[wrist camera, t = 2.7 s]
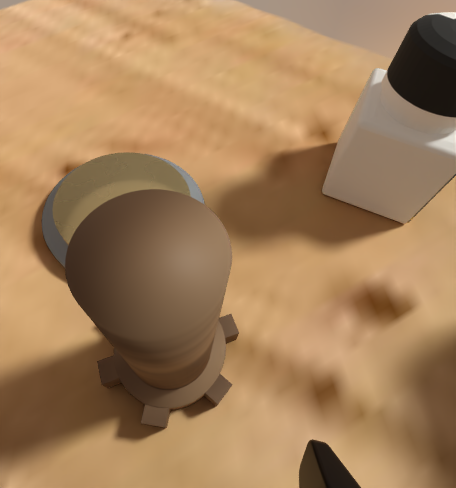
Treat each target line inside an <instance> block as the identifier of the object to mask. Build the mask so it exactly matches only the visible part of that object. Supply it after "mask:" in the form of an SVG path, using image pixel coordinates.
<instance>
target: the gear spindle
mask: <svg viewBox="0 0 456 488" xmlns="http://www.w3.org/2000/svg"><path fill="white" fill-rule="evenodd" d="M231 264H232V248H231V243H230V239H229V236H228V233H227V231H226V229H225V227H224V225H223V223H222V222H221V221H220V219H219V218H218V217H217V215H216V214H215V213H214V212H213V211H212V210H211V209H209V208H208V207H207V206H206V205H204V204H203V203H201V202H200V201H198V200H196V199H194V198H192V197H190V196H188V195H185V194H182V193H179V192H175V191H170V190H162V189H147V190H138V191H133V192H129V193H125V194H122V195H120V196H117V197H114V198H112V199H110V200H108V201H107V202H105V203H103V204H102V205H100V206H99V207H97V208H96V209H94V210H93V211H92V212H91V213H90V214H89V215H88V216H87V217H86V218H85V219H84V220H83V221H82V222H81V223H80V225H79V226H78V227H77V229H76V230H75V232H74V234H73V236H72V238H71V240H70V243H69V245H68V248H67V253H66V259H65V272H66V279H67V283H68V286H69V288H70V291H71V293H72V295H73V297H74V298H75V300H76V301H77V303H78V304H79V305H80V307H81V308H82V309H83V310H84V311H85V313H86V314H87V315H88V316H89V317H90V319H91V320H92V321H93V322H94V323H95V325H96V326H97V327H98V328H99V330H100V331H101V332H102V333H103V334H104V336H105V337H106V338H107V339H108V340H109V342H110V343H111V344H112V345H113V347H114V356H111V357H108V358H105V359H102V360H100V361H97V362H98V368H99V373H100V378H101V383H102V385H103V386H105V387H107V388H109V387H112V386H115V385H117V384H120V383H122V384H123V386H124V387H125V388H126V390H127V391H128V392H129V393H130V394H131V395H133V396H134V397H135V398H136V399H137V400H139V401H140V402H142V403H144V404H145V408H144V411H143V415H142V419H141V423H142V424H146V425H152V426H157V427H163V428H167V425H168V420H169V415H170V410H175V409H180V408H184V407H186V406H189V405H191V404H193V403H195V402H197V401H198V400H199V399H201V398H202V397H203V396H205V397H206V398H207V399H208V400H209V401H210V402H211V403H213V404H214V405H215V406H217V405H218V404H219V402H220V401H221V400H222V398H223V397H224V395H225V394H226V393H227V391H228V390H229V389H230V387H231V386H232V384H231V383H230V382H229V381H228V380H226V379H225V378H224V377H223V376H222V375H221V374H220V372H221V369H222V367H223V364H224V359H225V353H226V343H228V342H231V341H233V340H236V339H237V336H238V334H239V332H238V329H237V327H236V324H235V322H234V319H233V317H232V315H231V314H229V315H226V316H223V317H221V318H219V316H220V312H221V308H222V304H223V299H224V295H225V291H226V287H227V282H228V278H229V274H230V270H231Z"/></svg>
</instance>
